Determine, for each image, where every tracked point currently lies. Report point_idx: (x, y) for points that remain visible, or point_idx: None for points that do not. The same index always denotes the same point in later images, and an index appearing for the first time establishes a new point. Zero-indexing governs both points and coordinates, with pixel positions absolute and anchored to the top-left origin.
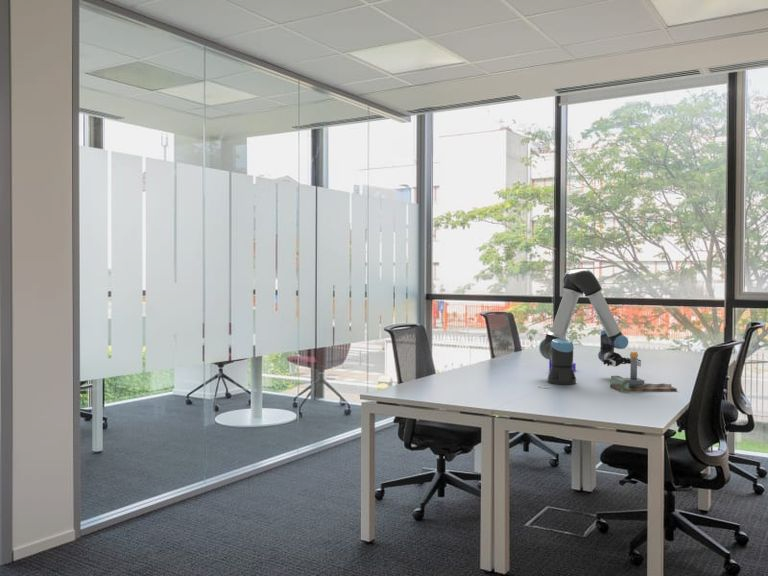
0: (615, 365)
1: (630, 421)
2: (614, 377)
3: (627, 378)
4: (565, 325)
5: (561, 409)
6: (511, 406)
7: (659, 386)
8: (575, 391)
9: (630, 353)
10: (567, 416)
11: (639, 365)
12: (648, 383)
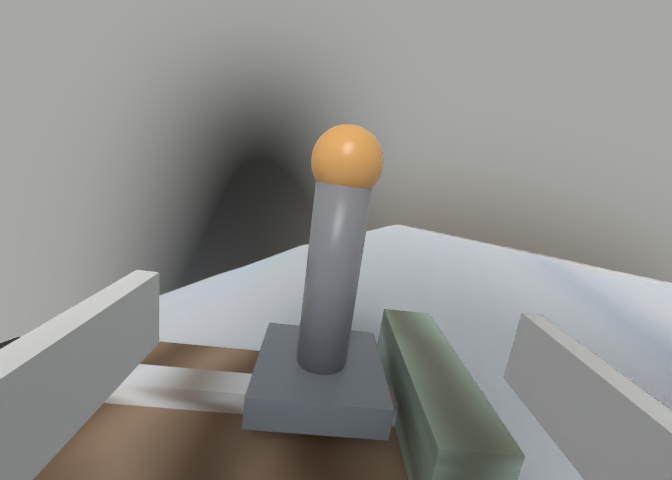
0: (509, 364)
1: (429, 234)
2: (476, 386)
3: (360, 385)
4: None
5: (553, 269)
6: (669, 291)
7: None
8: (666, 405)
9: (381, 150)
10: (523, 252)
11: (156, 330)
12: (191, 382)
